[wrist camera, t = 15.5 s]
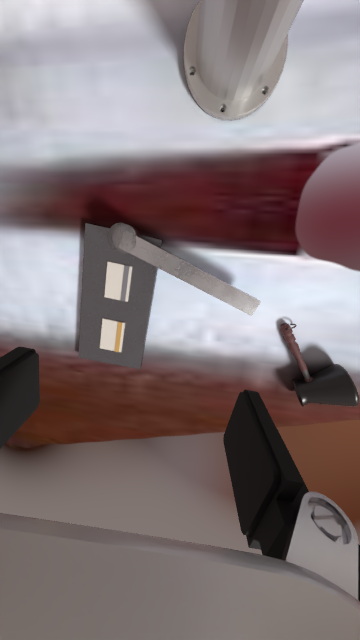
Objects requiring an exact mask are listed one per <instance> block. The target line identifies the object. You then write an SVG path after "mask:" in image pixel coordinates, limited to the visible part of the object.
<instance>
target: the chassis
mask: <svg viewBox="0 0 360 640" xmlns="http://www.w3.org/2000/svg"><path fill="white" fill-rule="evenodd" d="M109 229H110V228H105V227H101V226H96V225H92V224H87V223H85V240H84V259H83V278H82V298H81V317H80V336H79V356H78V357H80V358H85V359H90V360H95V361H101V362H106V363H111V364H116V365H121V366H127V367H132V368H137V369H140V368H141V365H142V359H143V353H144V347H145V341H146V335H147V329H148V323H149V317H150V311H151V306H152V300H153V294H154V288H155V282H156V276H157V270H158V267H156V266H154V265H152V264H150V263H148V262H146V261H144V260H142V259H140V258H138V257H136V256H134V255H132V254H130V253H128V254H119V253H117V252H115V251H114V250H113V249H112V248H111V247H110V246H109V244H108V240H107V234H108V231H109ZM141 238H143V239H145V240H147V241H148V242H150V243H152V244H154V245H156V246H158V247H160V248H161V247H162V241H163V240H159V239H155V238H150V237H146V236H141ZM107 262H113V263H118V264H122V265H127V266H132V274H131V282H130V290H129V297H128V302H126V301H120V300H116V299H111V298H106V297H104V296H105V284H106V273H107ZM103 318H105V319H110V320H115V321H120V322H125V328H124V336H123V344H122V351H121V352H115V351H111V350H106V349H101V348H100V340H101V329H102V319H103Z"/></svg>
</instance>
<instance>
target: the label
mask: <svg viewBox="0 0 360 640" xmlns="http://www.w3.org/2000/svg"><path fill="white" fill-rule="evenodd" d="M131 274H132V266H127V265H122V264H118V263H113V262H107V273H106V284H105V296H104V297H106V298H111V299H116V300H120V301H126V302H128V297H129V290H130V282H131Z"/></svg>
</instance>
